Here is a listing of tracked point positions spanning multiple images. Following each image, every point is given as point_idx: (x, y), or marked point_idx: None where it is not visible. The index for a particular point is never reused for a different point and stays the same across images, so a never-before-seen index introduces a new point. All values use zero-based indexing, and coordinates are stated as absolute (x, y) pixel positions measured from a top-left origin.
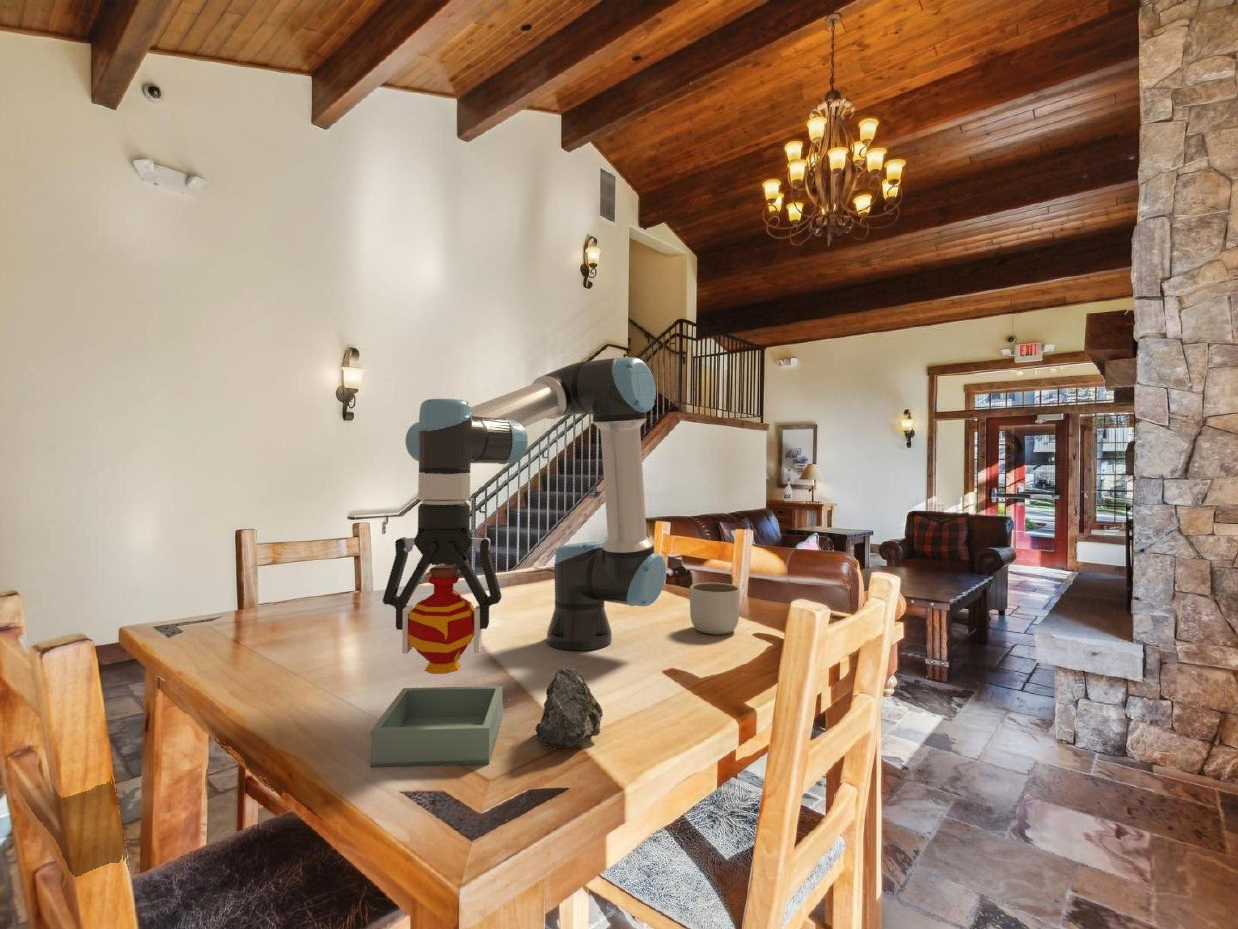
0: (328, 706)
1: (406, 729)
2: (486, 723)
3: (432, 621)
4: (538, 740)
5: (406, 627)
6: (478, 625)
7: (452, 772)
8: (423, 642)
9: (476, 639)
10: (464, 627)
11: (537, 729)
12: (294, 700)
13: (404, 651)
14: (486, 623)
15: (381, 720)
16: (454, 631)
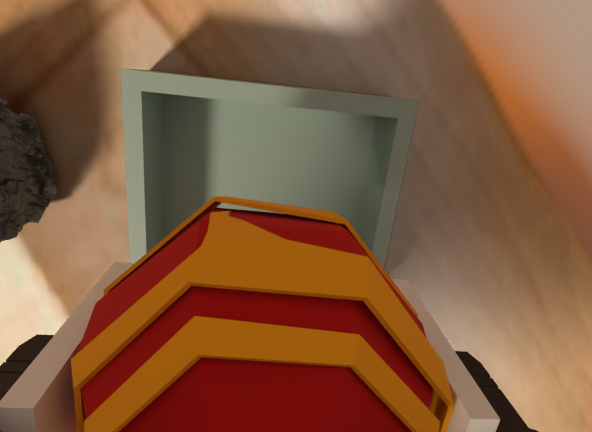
0: (493, 362)
1: (335, 95)
2: (133, 99)
3: (300, 258)
4: (32, 117)
5: (432, 344)
6: (60, 331)
7: (223, 46)
8: (334, 217)
9: (103, 291)
10: (125, 286)
11: (47, 181)
12: (551, 390)
13: (401, 282)
14: (19, 354)
15: (399, 160)
16: (175, 242)
